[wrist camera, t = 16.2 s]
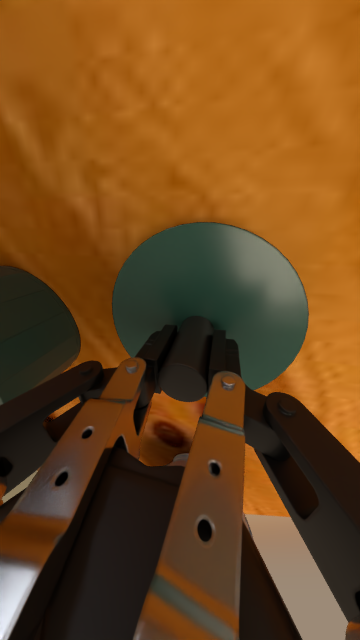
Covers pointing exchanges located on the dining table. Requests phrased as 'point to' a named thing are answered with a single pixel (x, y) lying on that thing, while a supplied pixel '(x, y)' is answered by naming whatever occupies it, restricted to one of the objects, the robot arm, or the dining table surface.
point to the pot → (32, 333)
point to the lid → (211, 304)
